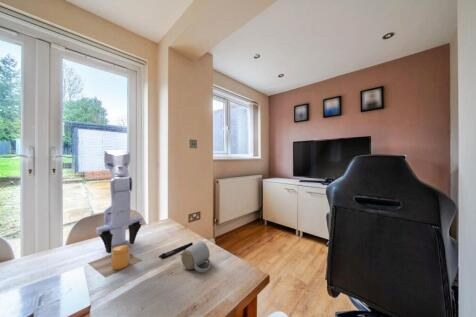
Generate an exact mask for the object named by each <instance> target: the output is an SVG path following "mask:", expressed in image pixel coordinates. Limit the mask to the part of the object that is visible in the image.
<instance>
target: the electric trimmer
mask: <svg viewBox="0 0 476 317" xmlns="http://www.w3.org/2000/svg"><path fill="white" fill-rule="evenodd" d="M192 245H193V242H189V243H186V244H184V245H182V246H178V247H177V248H174V249H172V250H169V251H167V252H163V253H161V254H160V255H159V256H158V258H159V259H160V260H165V259H168V258H169V257H172V256H174V255H176V254H178V253H180V252H183V251H184V250H185V249H187V248H188V247H190V246H192ZM181 255H182V253H180V254H179V256H181Z"/></svg>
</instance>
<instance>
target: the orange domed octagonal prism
mask: <svg viewBox="0 0 476 317" xmlns="http://www.w3.org/2000/svg"><path fill="white" fill-rule="evenodd" d="M129 253H130V246H129V245H128V244H127V245H126V244H124V245H123V244H122V245H118V246H115V247H114V248H113V249H111V254H112V268H113V269H114V270H115V269H122V268H124V267H126V266H128V264H129Z"/></svg>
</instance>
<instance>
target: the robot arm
mask: <svg viewBox="0 0 476 317" xmlns="http://www.w3.org/2000/svg"><path fill="white" fill-rule="evenodd" d="M103 157H104V161H103V162H104V167H105V169H107V170H109V172H110V175H111V176H110V177H111V179H110V184H109V185H110V186H109V190H110V198H111V200H110V202H111V203H110V205H108V206H107V207H106V208H105V209H104V211H103V225H101V226H98V227H96V228H95V234H96V235H98V236H99V237H100V239H101V240H102V243H103V244H104V247H105V252H106V253H107V254H112V247H113V246H117V245H118V246H119V245H121V244H123V243H125V242H126V238H127V235H126V233H127V231H126V230H127V227H128V232H129V234H128V235H129V236H128V241H129V244H130V245H134V244H135V243H136V242H135V241H136V237H137V235H138V233H139V231H140V229H141V227H142V224H141V223H143V217H142V216H136V217H131V192H132V191H133V179H132V176H131V175H130V174H129V169H128V168H129V165H130V162H131V151H129V150H112V149H111V150H108V149H106V150H104V156H103Z"/></svg>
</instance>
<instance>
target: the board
mask: <svg viewBox="0 0 476 317" xmlns="http://www.w3.org/2000/svg"><path fill="white" fill-rule="evenodd" d="M140 262H143V260H142V259H141V258H139V257H137V256H135V255H133V254H131V253H130V252H129V264H128V266H126V267H124V268H122V269H115V270H114V269H113V268H112V253H109V254H108V255H105V256H103V257H100V258H98V259H95V260H92V261H89V262H88V263H87V264H88V265H89V266H90V267H92V268H93V269H94V270H96V272H98V273H99V274H100V275H101V276H103V277H104V278H105V279H106V278H108V277H110V276H113V275H114V274H117V273H119V272H121V271H123V270H125V269H128V268H129V267H131V266H134V265H136V264H139V263H140Z"/></svg>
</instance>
